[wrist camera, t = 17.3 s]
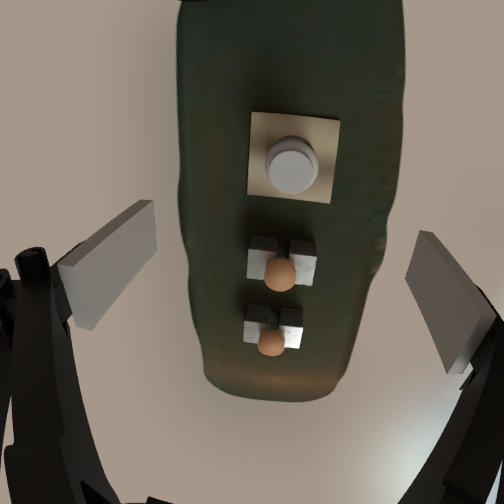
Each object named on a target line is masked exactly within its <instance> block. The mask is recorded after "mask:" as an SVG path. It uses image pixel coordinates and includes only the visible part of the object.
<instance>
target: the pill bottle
mask: <svg viewBox="0 0 504 504" xmlns="http://www.w3.org/2000/svg"><path fill="white" fill-rule="evenodd" d="M318 169H319V165H318V159H317V156H316V154H315V151H314V149H313V147H312V145H311V144H310V143H309V142H308V141H307V140H306V139H304V138H302V137H300V136H296V135H288V136H284V137H282V138H280V139H279V140H277V141H276V142H275V143H274V144H273V146H272V147H271V149H270V150H269V152H268V154H267V157H266V160H265V171H266V175H267V177H268V179H269V181H270V182H271V183H272V184H273V185H274V186H275V187H276V188H277V189H278V190H280V191H281V192H284V193H288V194H296V193H299V192H302V191H303V190H305V189H307V188H308V187H310V186H311V185H312V184H313V182H314V181H315V179H316V177H317V174H318Z"/></svg>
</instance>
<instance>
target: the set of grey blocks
mask: <svg viewBox="0 0 504 504" xmlns="http://www.w3.org/2000/svg"><path fill="white" fill-rule="evenodd" d="M277 244H278V238H275V237H266V236H257V235H253V237H252V240H251V243H250V246H249V251H248V269H247V278H251V279H260V280H264V273H265V268H266V265H267V264H268V262H269V261H270V260H272V259H274V258H276V254H277ZM288 259H289V260H290V261H292V262H293V264H294V265H295V267H296V281H295V284H302V285H311V286H312V281H313V275H314V270H315V264H316V259H317V254H316V244H315V242H310V241H301V240H292V239H291V240H290V248H289V256H288ZM270 308H271V306H264V305H256V304H249V306H248V310H247V314H246V318H245V323H244V342H250V343H257V344H258V340H259V335H260V334H261V332H263V331H265V330H268V325H269V317H270ZM278 331H280V332H281V333H282V334H283V335H284V336H285V346H284V347H291V348H299V345H300V340H301V336H302V331H303V310H298V309H289V308H281V315H280V322H279V330H278Z"/></svg>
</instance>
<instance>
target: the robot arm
mask: <svg viewBox="0 0 504 504" xmlns="http://www.w3.org/2000/svg"><path fill="white" fill-rule="evenodd" d="M180 1H188V2H197V1H206V0H180ZM156 241H157V240H156V229H155V216H154V201H153V200H139V201H138V202H136V203H135V204H133V205H132V206H130V207H129V208H128V209H126V210H125V211H124V212H122V213H121V214H119V215H118V216H117V217H116V218H114V219H113V220H111V221H110V222H109V223H107V224H106V225H105V226H103V227H102V228H101V229H99V230H98V231H97V232H96V233H94V234H93V235H92V236H90V237H89V238H88V239H87V240H85V241H83V242H81V243H79V244H78V245H76V246H75V247H74V248H73V249H72V250H71V251H69V252H68V253H66V255H64V256H63V257H62V258H60V259H59V260H58V261H57V262H56V263H54V264H53V265H52V266H51V267H50V266H49V262H48V259H47V255H46V251H45V249H44V248H42V247H33V248H29V249H26V250H24V251H22V252H20V253H19V254H18V255H17V256H16V257H15V259H14V260H15V264H16V267H17V270H18V273H19V276H20V280H11V277H10V274H9V271H8V270H7V269H0V467H1V456H2V446H3V438H4V431H5V424H6V418H7V413H8V408H9V402H10V398H11V401H12V420H13V433H14V443H13V445H9V446H6V448H5V450H4V463H5V470H6V476H7V482H8V488H9V493H10V498H11V503H12V504H121V503H120V501H119V499H118V497H117V495H116V493H115V492H114V490H113V488H112V487H111V485H110V484H109V482H108V480H107V478H106V476H105V473H104V470H103V468H102V465H101V462H100V459H99V456H98V453H97V450H96V447H95V444H94V440H93V437H92V434H91V430H90V427H89V423H88V420H87V416H86V412H85V408H84V404H83V400H82V396H81V391H80V387H79V381H78V376H77V371H76V366H75V361H74V354H73V348H72V341H71V334H70V327H69V324H68V322H67V319H68V318H69V317H70V316H71V315H73V318H74V321H75V324H76V326H78V327H81V328H84V329H87V330H91V331H92V330H93V328H94V327H95V326H96V324H97V323H98V322H99V321H100V319H101V318H102V317H103V315H104V314H105V313H106V312H107V310H108V309H109V308H110V306H111V305H112V304H113V303H114V301H115V300H116V299H117V298H118V296H119V295H120V294H121V293H122V291H123V290H124V289H125V288H126V287H127V285H128V284H129V283H130V282H131V280H132V279H133V278H134V277H135V276H136V274H137V273H138V272H139V271H140V270H141V268H142V267H143V266H144V265H145V264H146V262H147V261H148V260H149V259H150V258H151V257H152V256H153V254H154V253H155V252H156V251H157V242H156ZM405 280H406V282H407V284H408V286H409V287H410V290H411V292H412V294H413V296H414V298H415V300H416V302H417V304H418V306H419V308H420V311H421V313H422V315H423V317H424V320H425V322H426V324H427V326H428V329H429V331H430V333H431V336H432V338H433V340H434V343H435V345H436V348H437V350H438V352H439V355H440V357H441V360H442V362H443V365H444V368H445V370H446V373H447V374H461V373H463V371H464V370H465V369H466V367H467V366H468V364H469V362H470V363H471V365H472V367H473V370H472V372H471V373H470V375H469V376H468V378H467V379H466V380H465V382H464V383H463V385H462V386H461V388H460V390H462V389H463V391H462V393H461V395H460V397H459V400H458V402H457V404H456V407H455V409H454V411H453V413H452V415H451V417H450V419H449V421H448V423H447V425H446V427H445V429H444V431H443V433H442V434H441V436H440V438H439V440H438V442H437V443H436V445H435V447H434V449H433V451H432V452H431V454H430V456H429V457H428V459H427V461H426V463H425V464H424V466H423V467H422V469H421V470H420V472H419V473H418V475H417V477H416V478H415V479H414V481H413V483H412V484H411V486H410V487H409V489H408V490H407V491H406V493H405V494H404V495H403V497H402V498H401V500H400V501H399V502H398V504H485V503H486V500H487V498H488V496H489V493H490V491H491V489H492V486H493V484H494V481H495V479H496V476H497V473H498V471H499V468H500V465H501V462H502V468H501V475H500V482H499V487H498V493H497V498H496V503H495V504H504V321H503V320H502V319H501V317H500V315H499V314H498V313H497V311H496V310H495V308H494V306H493V305H492V304H491V302H490V301H489V300H488V298H487V297H486V295H485V294H484V293H483V291H482V290H481V289H480V288H479V287H478V286H476V285H475V284H474V283H473V282H472V280H471V279H470V278H469V276H468V275H467V274H466V272H465V271H464V270H463V269H462V267H461V266H460V265H459V264H458V262H457V261H456V260H455V259H454V257H453V256H452V255H451V254H450V253H449V251H448V250H447V249H446V248H445V246H444V245H443V244H442V243H441V242H440V241H439V239H438V238H437V237H436V236H435V235H434V234H433V232H427V231H421V230H420V231H419V234H418V238H417V241H416V245H415V248H414V252H413V255H412V258H411V261H410V265H409V268H408V271H407V274H406V277H405ZM502 459H503V460H502ZM126 504H173V503H169V502H165V501H162V500H158V499H155V498H152V497H149V496H148V498H147V501H146V503H126Z"/></svg>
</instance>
